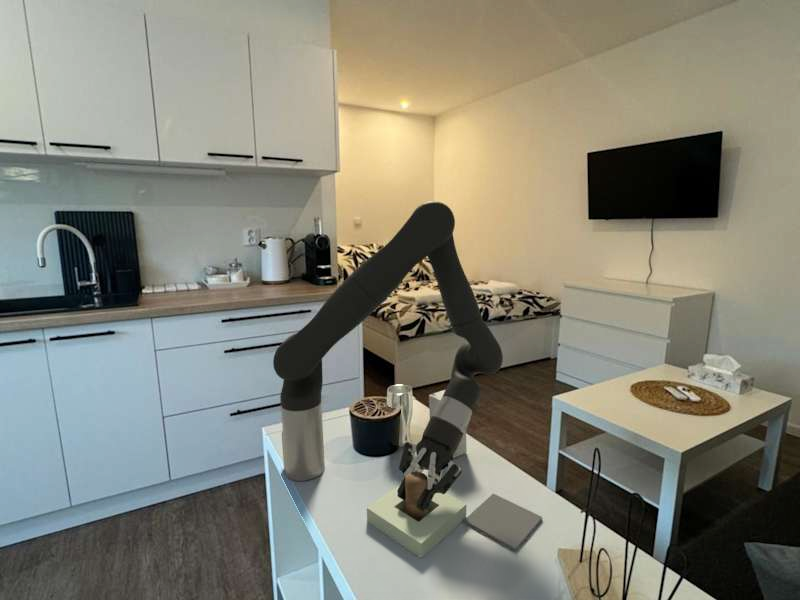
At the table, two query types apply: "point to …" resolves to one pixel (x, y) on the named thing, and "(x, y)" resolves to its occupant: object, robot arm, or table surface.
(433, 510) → the collar block
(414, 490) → the walnut pin
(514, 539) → the rubber mat
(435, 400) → the skincare box
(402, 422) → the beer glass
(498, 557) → the table surface
